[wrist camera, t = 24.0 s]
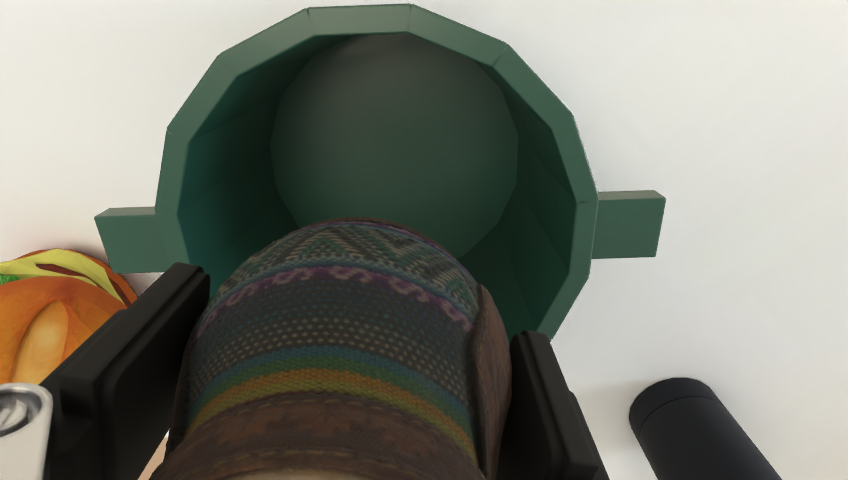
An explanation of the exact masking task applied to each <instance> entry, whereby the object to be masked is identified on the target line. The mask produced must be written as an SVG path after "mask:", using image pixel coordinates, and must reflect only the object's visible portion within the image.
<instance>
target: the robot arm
mask: <svg viewBox="0 0 848 480" xmlns="http://www.w3.org/2000/svg"><path fill="white" fill-rule="evenodd" d="M210 281H211V280H210V275H209V274H206V273H204V270H203V268H202V267H201V266H196V265H191V264H186V263H181V262H176V263H174V264H173V265H172V266H171V267H170V268H169V269H168V270H167V271H166V272H165V273H164V274H162V275H161V276H160V277H159V278H158V279H157V280H156V281H155V282H154V283H153V284H152V285H151V286H150V287H149V288H148V289H147V290H146V291H145V292H144V293H143V294H142V295H141V296H140V297H138V298H137V299H136V300H135V301H134V302H133V303H132V304H131V305H130V306H129V307H128V308H127V309H121V310H119V311H117V312H116V313H114V314H113V315H112V316H111V317H110V318H109V319H108V320H107V321H106V322H105V323H104V324H103V325H102V326H101V327H99V328H98V329H97V330H96V331H95V332H94V333H93V334H92V335H91V336H90V337H89V338H88V339H87V340H86V341H85V342H83V343H82V344H81V345H80V346H79V347H78V348H77V349H76V350H75V351H74V352H73V353H72V354H71V355H70V356H68V357H67V358H66V359H65V360H64V361H63V362H62V363H61V364H60V365H59V366H58V367H57V368H56V369H55V370H54V371H52V372H51V373H50V374H49V375H48V376H47V377H46V378H45V379H44V380H43V381H42V382H41V383H40V384H39V385H37V384H31V383H24V382H19V383H5V384H1V385H0V480H137V479H138V478H139V476H140V475H141V473H142V472H143V470H144V469H145V467H146V465H147V464H148V462H149V460H150V459H151V457H152V456H153V454H154V453H155V451H156V449H157V448H158V446H159V445H160V443H161V441H162V440H163V438H164V437H165V435H166V433H167V432H168V430H169V429H170V425H171V416H172V414H173V408H174V400H175V393H176V388H177V384H178V378H179V374H180V369H181V366H182V360H183V359H182V357H183V352H184V351H185V346H186V345H187V342H188V338H189V337H190V334H191V332H192V330H193V326H194V325H195V324H196V321H195V320H196V318H197V317H200V316H201V314H202V313H203V311H204V310H205V308H206V307H207V304H208V302H209V299H210ZM509 352H510V357H511V364H512V384H511V386H512V397H511V403H510V406H509V410H508V414H507V418H506V422H505V426H504V430H503V435H502V440H501V447H500V453H499V458H498V467H497V473H496V480H610V479H609V477H608V475H607V472H606V470H605V467H604V465H603V462H602V460H601V458H600V455H599V453H598V450H597V448H596V445H595V443H594V440H593V438H592V436H591V433H590V431H589V428H588V426H587V423H586V421H585V418H584V416H583V414H582V411H581V409H580V406H579V404H578V401H577V399H576V397H575V395H574V394H573V393H572V392H571V391H569V389H568V387H567V384H566V382H565V379H564V377H563V374H562V372H561V369H560V367H559V364H558V362H557V359H556V357H555V354H554V351H553V349H552V346H551V344H550V341H549V339H548V337H547V335H546V334H544V333H539V332H534V331H529V330H523V331H522V332H521V333H520V334H514V335H513V337H512V340H511V342H510V345H509Z"/></svg>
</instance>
